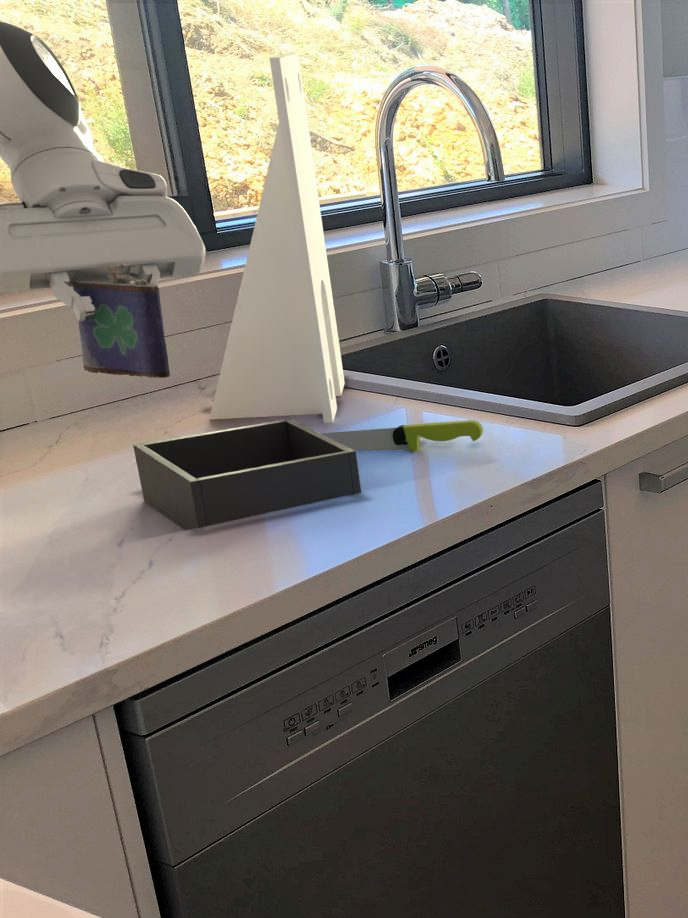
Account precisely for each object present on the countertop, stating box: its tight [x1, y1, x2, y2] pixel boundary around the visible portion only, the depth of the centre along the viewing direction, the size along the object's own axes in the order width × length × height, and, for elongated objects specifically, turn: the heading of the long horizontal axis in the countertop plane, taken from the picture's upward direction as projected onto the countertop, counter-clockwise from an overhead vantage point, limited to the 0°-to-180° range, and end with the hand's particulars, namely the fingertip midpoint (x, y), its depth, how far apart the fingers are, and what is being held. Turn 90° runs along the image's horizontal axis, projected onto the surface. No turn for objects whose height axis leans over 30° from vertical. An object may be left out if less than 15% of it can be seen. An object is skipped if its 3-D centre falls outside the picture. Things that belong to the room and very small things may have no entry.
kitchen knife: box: [319, 419, 484, 453], centre depth 154 cm, size 22×1×3 cm, turn 90°
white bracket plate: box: [209, 52, 346, 424], centre depth 164 cm, size 20×14×40 cm
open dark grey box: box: [132, 418, 362, 531], centre depth 136 cm, size 16×16×6 cm
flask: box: [72, 263, 171, 379], centre depth 138 cm, size 9×3×11 cm, turn 78°
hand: (121, 313), depth 138 cm, fingers closed on flask, 5 cm apart
